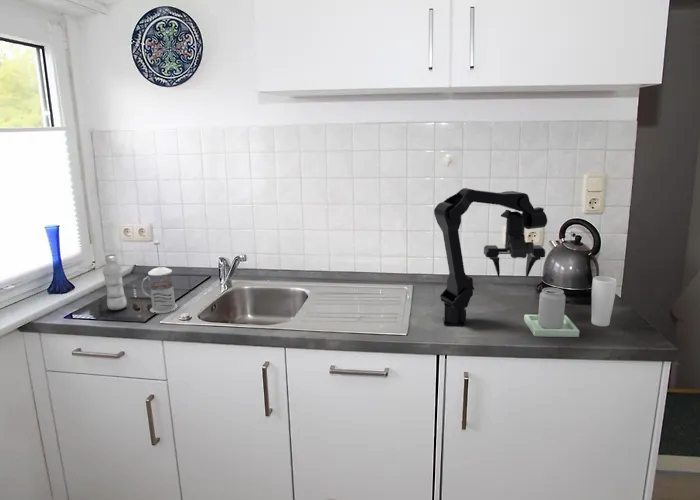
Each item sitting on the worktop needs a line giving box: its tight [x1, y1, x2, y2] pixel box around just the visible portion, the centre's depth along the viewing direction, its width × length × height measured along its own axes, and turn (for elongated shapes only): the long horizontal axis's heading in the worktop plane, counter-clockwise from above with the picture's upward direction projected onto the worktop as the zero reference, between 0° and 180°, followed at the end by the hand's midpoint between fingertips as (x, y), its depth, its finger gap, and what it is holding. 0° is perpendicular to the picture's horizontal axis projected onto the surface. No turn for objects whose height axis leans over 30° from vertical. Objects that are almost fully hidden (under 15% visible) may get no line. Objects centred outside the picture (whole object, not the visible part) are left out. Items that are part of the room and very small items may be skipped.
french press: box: [140, 240, 179, 314], centre depth 184 cm, size 10×12×25 cm
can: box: [537, 287, 566, 329], centre depth 161 cm, size 8×8×12 cm
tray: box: [523, 314, 580, 338], centre depth 162 cm, size 13×13×2 cm
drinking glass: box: [590, 275, 617, 328], centre depth 163 cm, size 7×7×15 cm
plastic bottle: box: [102, 253, 127, 311], centre depth 185 cm, size 6×7×20 cm
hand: (512, 276), depth 173 cm, fingers open, 9 cm apart
